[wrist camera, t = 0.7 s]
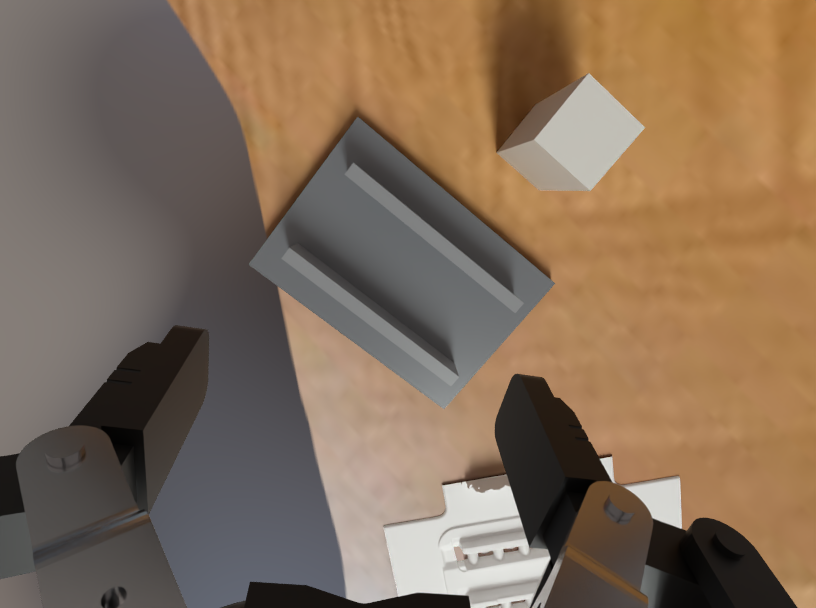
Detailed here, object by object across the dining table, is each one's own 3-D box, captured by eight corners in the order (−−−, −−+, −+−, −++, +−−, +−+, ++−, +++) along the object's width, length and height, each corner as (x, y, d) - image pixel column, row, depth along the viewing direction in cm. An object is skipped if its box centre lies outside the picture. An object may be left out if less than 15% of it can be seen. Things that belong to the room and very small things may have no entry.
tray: (681, 614, 49) (702, 648, 45) (413, 650, 50) (413, 686, 46) (672, 438, 44) (696, 460, 40) (376, 483, 45) (373, 509, 42)
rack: (358, 118, 36) (354, 110, 32) (551, 281, 39) (568, 291, 35) (252, 262, 38) (236, 270, 34) (442, 403, 41) (447, 426, 38)
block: (535, 104, 36) (588, 73, 26) (578, 143, 37) (644, 127, 27) (496, 152, 37) (534, 139, 27) (538, 190, 37) (590, 190, 28)
